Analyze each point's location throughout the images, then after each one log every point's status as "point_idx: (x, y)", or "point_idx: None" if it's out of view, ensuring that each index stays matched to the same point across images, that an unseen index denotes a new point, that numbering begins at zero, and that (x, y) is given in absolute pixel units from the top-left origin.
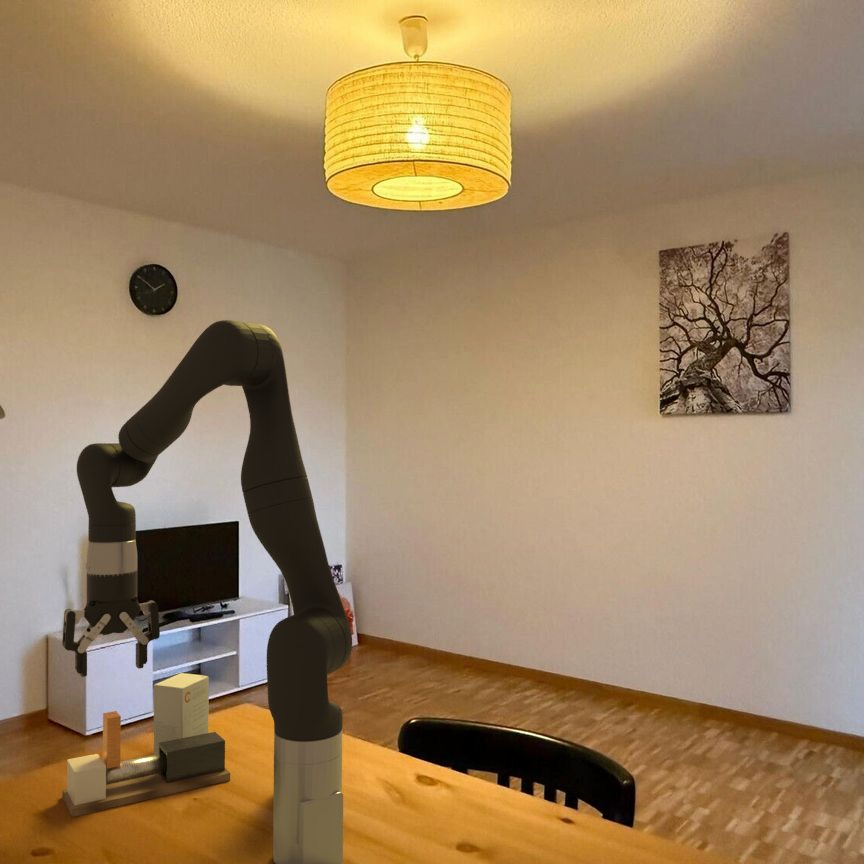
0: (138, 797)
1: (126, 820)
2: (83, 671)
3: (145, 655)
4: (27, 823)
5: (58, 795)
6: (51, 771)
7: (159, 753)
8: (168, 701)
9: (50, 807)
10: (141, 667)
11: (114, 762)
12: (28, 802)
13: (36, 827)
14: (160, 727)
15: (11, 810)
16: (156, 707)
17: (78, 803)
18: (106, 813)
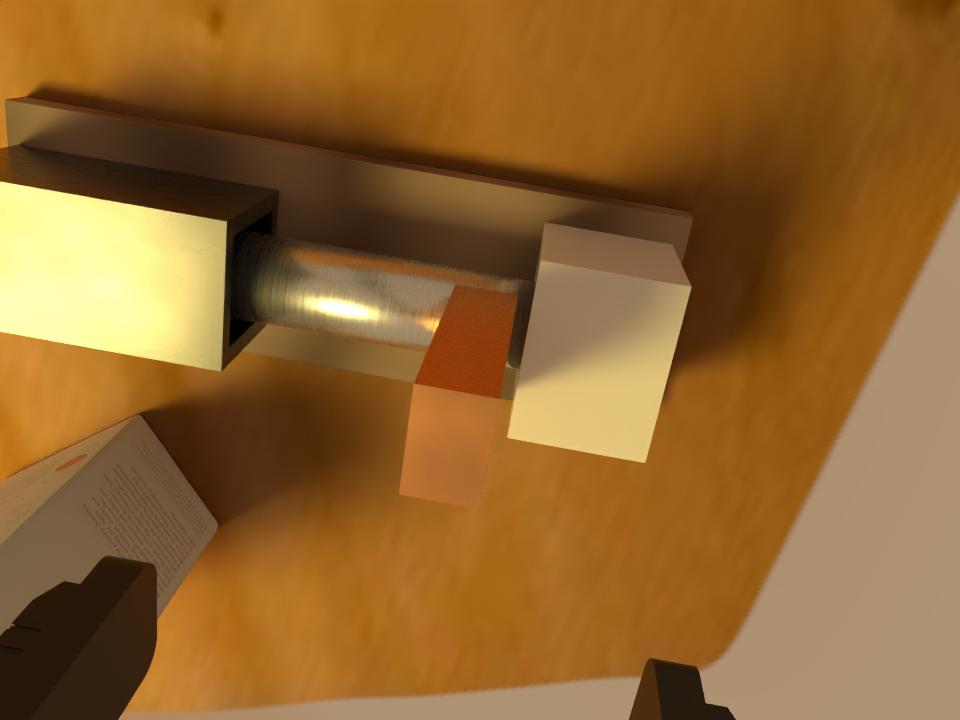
0: (420, 168)
1: (535, 17)
2: (691, 695)
3: (17, 641)
4: (839, 277)
5: None
6: (571, 646)
7: (239, 336)
8: None
9: (710, 356)
10: (127, 559)
11: (481, 294)
12: (750, 454)
13: (832, 216)
14: None
15: (827, 429)
16: None
17: (656, 243)
18: (570, 147)
